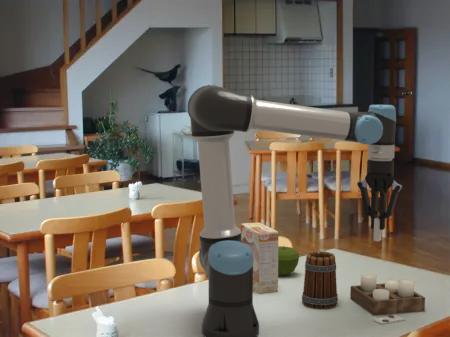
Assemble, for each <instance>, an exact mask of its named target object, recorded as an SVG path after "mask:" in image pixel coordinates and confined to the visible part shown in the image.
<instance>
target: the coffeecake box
mask: <svg viewBox="0 0 450 337" xmlns="http://www.w3.org/2000/svg"><path fill="white" fill-rule="evenodd" d="M240 230H241V238H242V243H245V244H247V245H248V246H250V248H251V249H252V252H253V258H254V263H253V292H255V293H256V294H258V295H264V294H270V293H271V294H272V293H278V292H279V275H278V247H279V234H280V233H279V231H278V230H275V229H274V228H272V227H270V226H268V225H265V224H264V223H261V222H260V221H259V222H244V223H243V222H242V223H241V224H240Z"/></svg>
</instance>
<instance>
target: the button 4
mask: <svg viewBox="0 0 450 337" xmlns="http://www.w3.org/2000/svg"><path fill="white" fill-rule="evenodd" d="M397 280H398V297H400V298H413V297H414V292H415V280H413V279H410V278H409V279H408V278H401V279H397Z"/></svg>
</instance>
